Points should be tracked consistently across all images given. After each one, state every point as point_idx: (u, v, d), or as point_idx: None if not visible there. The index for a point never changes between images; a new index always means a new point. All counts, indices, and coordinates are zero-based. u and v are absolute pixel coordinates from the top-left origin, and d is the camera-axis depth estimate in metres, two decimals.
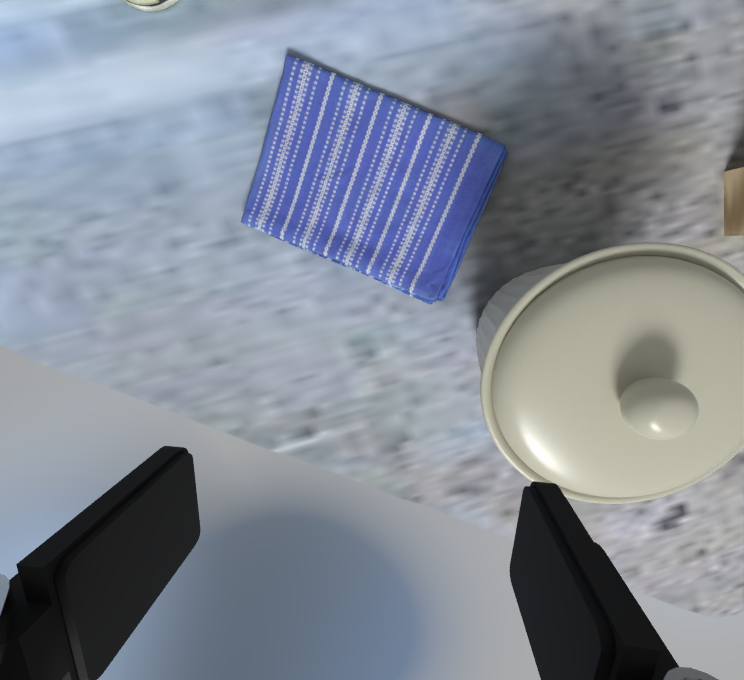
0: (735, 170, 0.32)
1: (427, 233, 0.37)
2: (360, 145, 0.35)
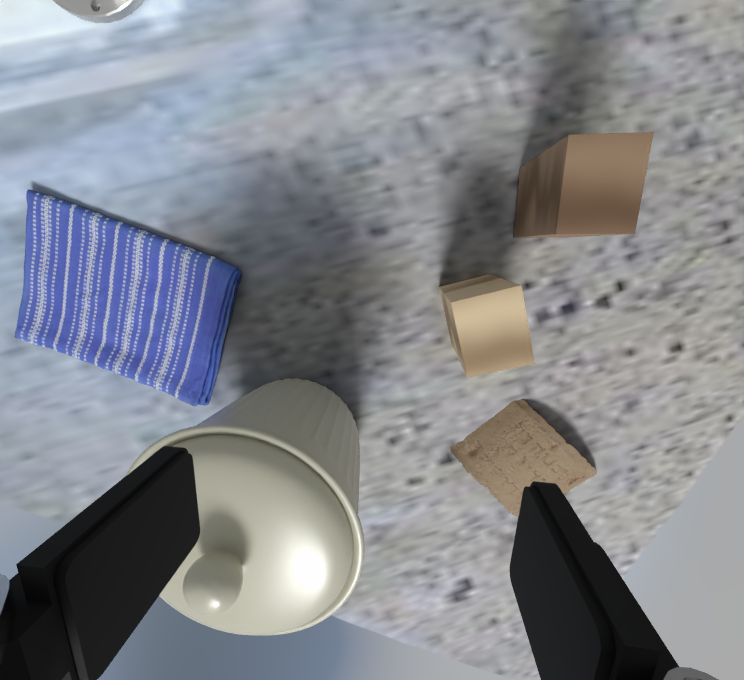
0: (440, 289, 0.34)
1: (185, 344, 0.39)
2: (109, 268, 0.37)
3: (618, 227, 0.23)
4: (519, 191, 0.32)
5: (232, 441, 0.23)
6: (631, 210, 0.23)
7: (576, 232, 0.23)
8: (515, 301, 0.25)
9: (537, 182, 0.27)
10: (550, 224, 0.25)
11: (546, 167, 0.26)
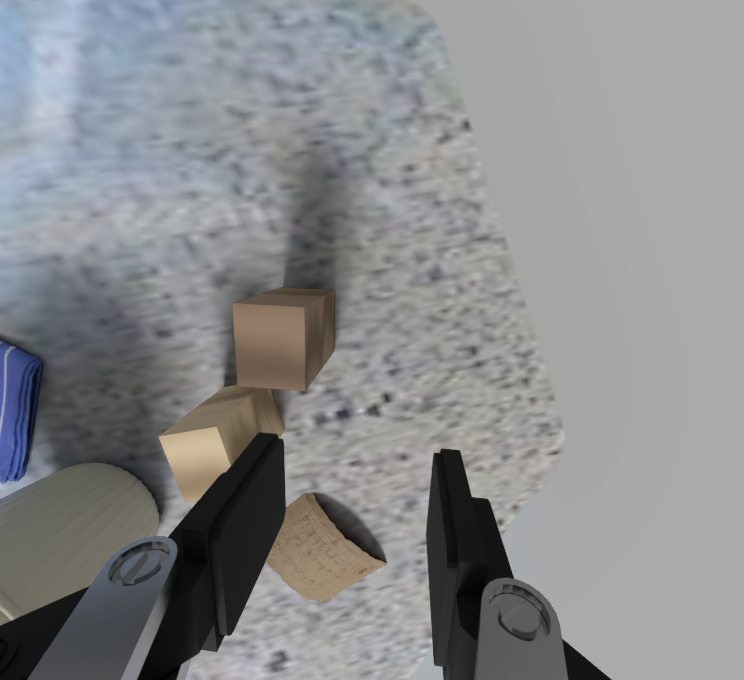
0: None
1: None
2: None
3: (290, 384, 0.25)
4: None
5: None
6: (298, 371, 0.24)
7: (254, 385, 0.25)
8: (214, 440, 0.27)
9: None
10: None
11: None
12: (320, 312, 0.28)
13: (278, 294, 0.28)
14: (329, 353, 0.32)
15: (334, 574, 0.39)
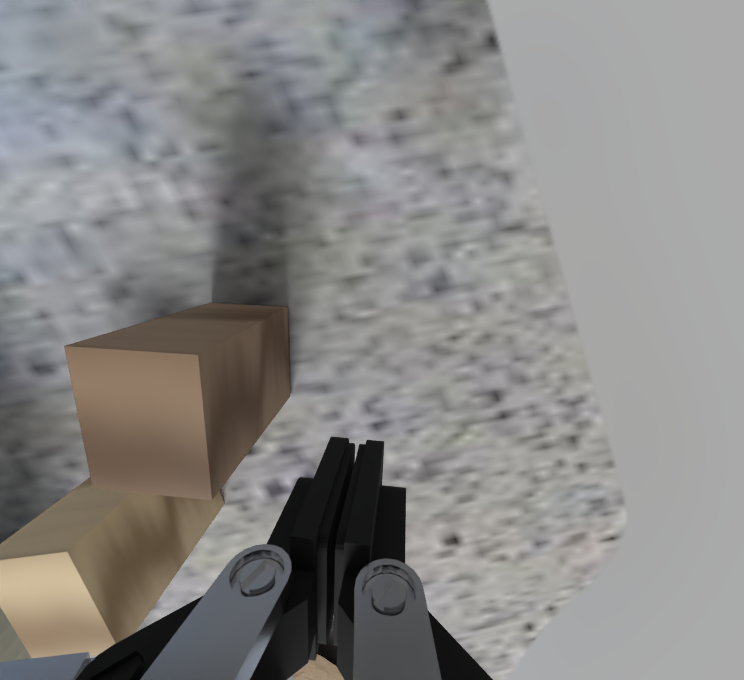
0: None
1: None
2: None
3: (184, 489, 0.14)
4: None
5: None
6: (197, 467, 0.13)
7: (122, 489, 0.14)
8: (66, 572, 0.16)
9: None
10: None
11: None
12: (252, 349, 0.17)
13: (185, 319, 0.17)
14: (279, 403, 0.21)
15: None
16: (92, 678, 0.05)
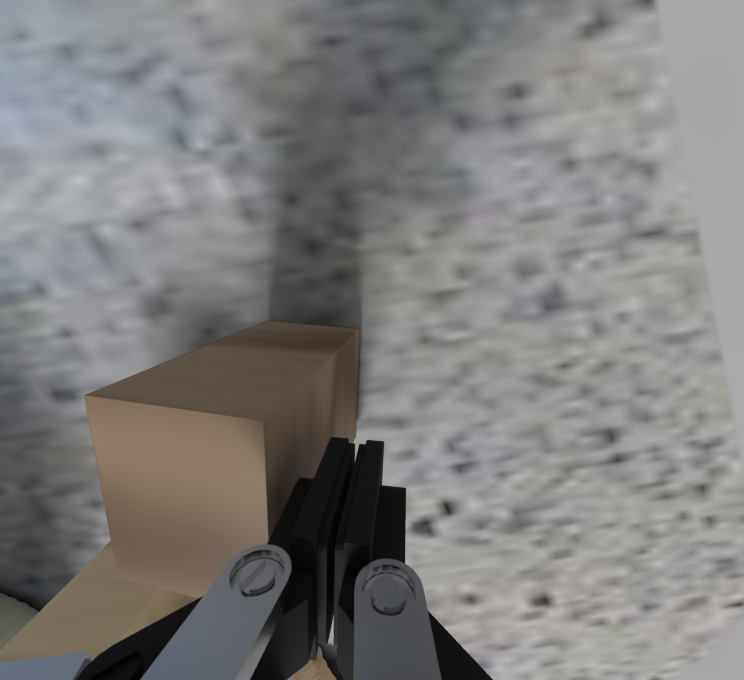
0: None
1: None
2: None
3: None
4: None
5: None
6: None
7: (155, 584, 0.10)
8: None
9: None
10: None
11: None
12: (324, 392, 0.13)
13: (240, 347, 0.14)
14: None
15: None
16: (92, 678, 0.05)
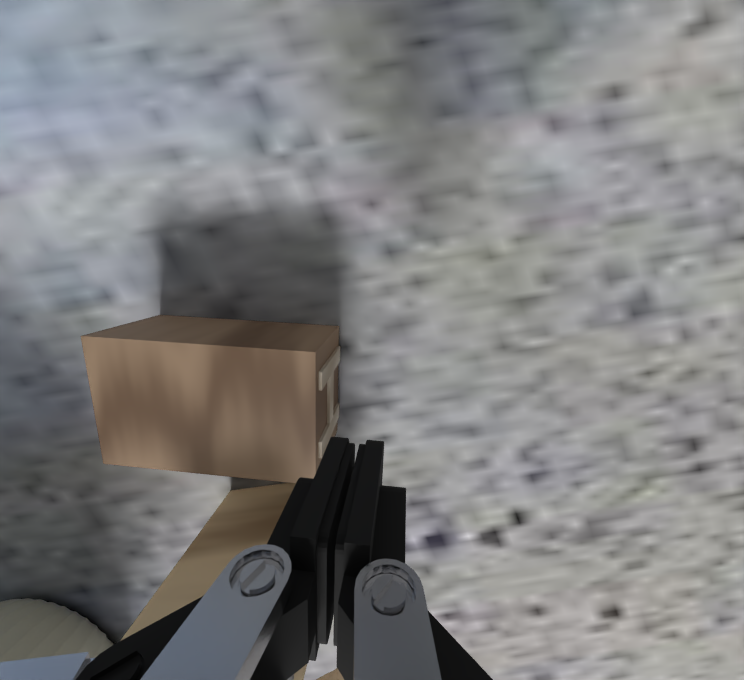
0: None
1: None
2: None
3: None
4: None
5: None
6: None
7: None
8: None
9: None
10: None
11: None
12: (185, 370, 0.14)
13: (241, 324, 0.17)
14: (269, 472, 0.15)
15: None
16: (92, 677, 0.05)
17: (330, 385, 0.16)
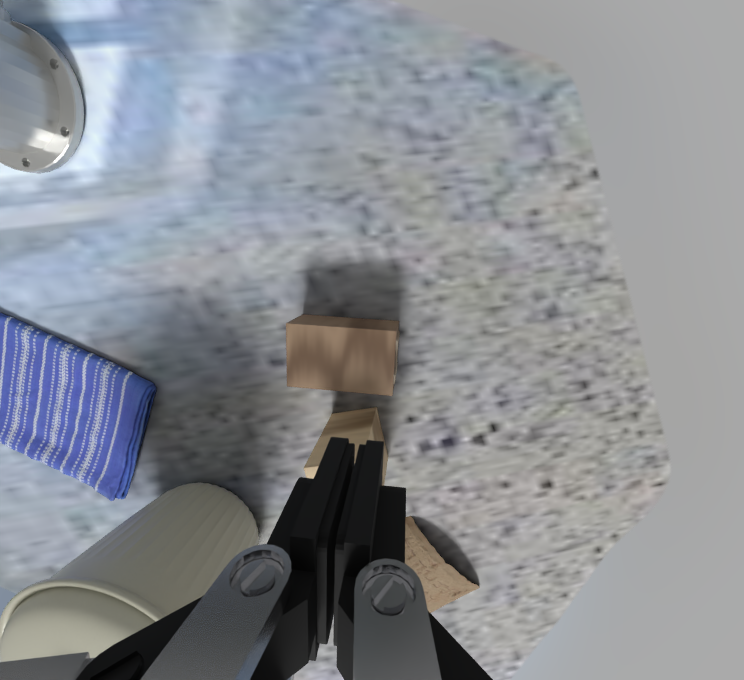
0: (329, 419, 0.37)
1: (105, 443, 0.42)
2: (39, 374, 0.41)
3: None
4: None
5: (87, 597, 0.26)
6: None
7: None
8: None
9: None
10: None
11: None
12: (334, 339, 0.31)
13: (350, 319, 0.34)
14: (370, 389, 0.32)
15: (430, 596, 0.40)
16: (92, 678, 0.05)
17: (397, 349, 0.33)
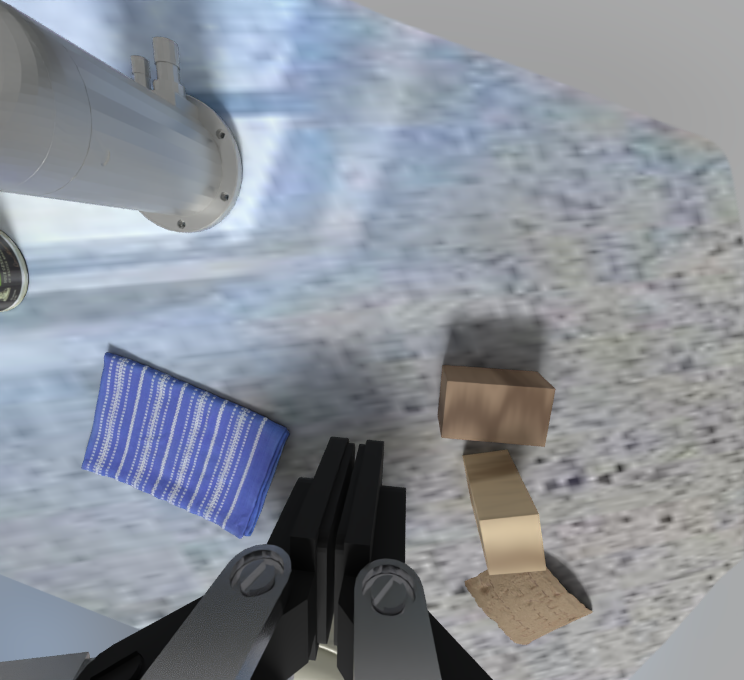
0: (464, 462, 0.39)
1: (234, 484, 0.44)
2: (172, 419, 0.42)
3: (440, 428, 0.36)
4: None
5: None
6: (442, 422, 0.35)
7: (438, 419, 0.38)
8: (533, 525, 0.30)
9: None
10: None
11: None
12: (493, 395, 0.33)
13: (493, 371, 0.36)
14: (523, 440, 0.34)
15: (548, 622, 0.43)
16: (92, 677, 0.05)
17: None
